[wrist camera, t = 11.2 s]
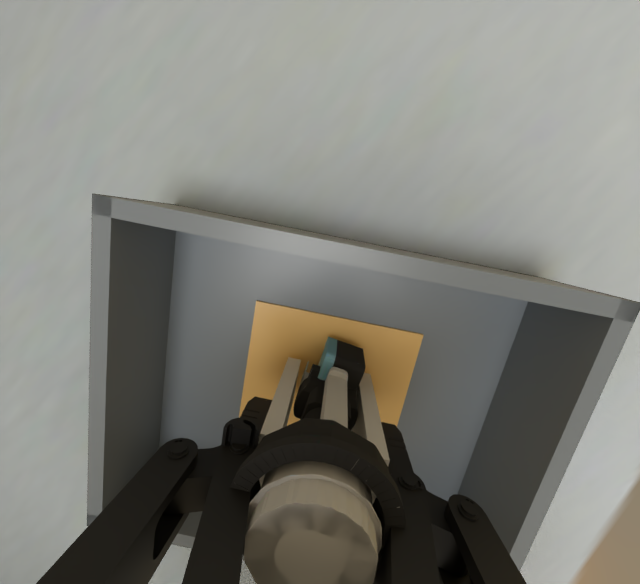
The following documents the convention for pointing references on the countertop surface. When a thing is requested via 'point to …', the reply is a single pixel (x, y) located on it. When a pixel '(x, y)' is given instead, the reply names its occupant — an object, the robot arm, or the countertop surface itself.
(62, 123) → the countertop surface
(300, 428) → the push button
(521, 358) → the bin
